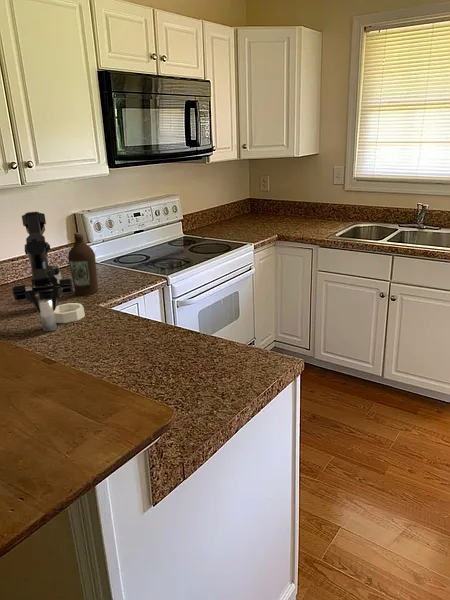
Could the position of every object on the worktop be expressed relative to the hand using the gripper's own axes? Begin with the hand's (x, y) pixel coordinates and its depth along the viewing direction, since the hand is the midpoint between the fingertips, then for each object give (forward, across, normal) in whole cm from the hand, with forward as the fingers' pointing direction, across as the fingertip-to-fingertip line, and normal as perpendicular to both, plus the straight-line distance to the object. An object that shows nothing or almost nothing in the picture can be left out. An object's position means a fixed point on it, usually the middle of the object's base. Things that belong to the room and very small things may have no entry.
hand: (46, 311), depth 158 cm
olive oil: (-23, +16, +33) cm, 43 cm away
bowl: (-2, +6, +12) cm, 14 cm away
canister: (+4, 0, +5) cm, 7 cm away
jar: (-25, +2, +35) cm, 43 cm away
